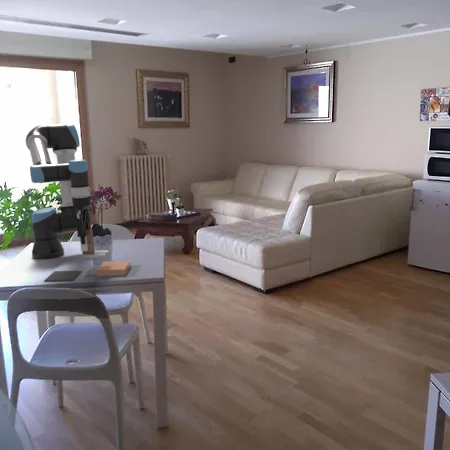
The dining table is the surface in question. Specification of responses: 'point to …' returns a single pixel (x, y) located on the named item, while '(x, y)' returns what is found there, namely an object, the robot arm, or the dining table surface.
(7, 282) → the dining table surface
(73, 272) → the pad
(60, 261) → the dining table surface
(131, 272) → the mat
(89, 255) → the float tool
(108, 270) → the tile
